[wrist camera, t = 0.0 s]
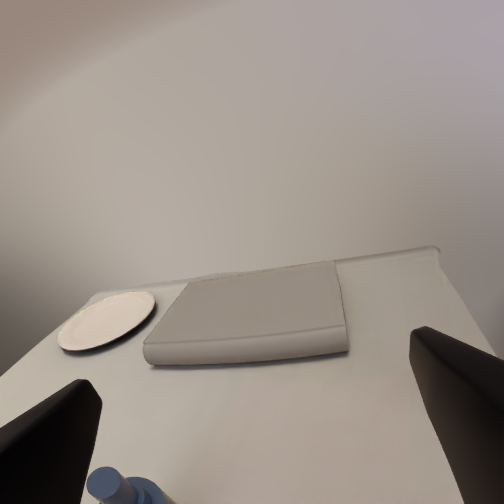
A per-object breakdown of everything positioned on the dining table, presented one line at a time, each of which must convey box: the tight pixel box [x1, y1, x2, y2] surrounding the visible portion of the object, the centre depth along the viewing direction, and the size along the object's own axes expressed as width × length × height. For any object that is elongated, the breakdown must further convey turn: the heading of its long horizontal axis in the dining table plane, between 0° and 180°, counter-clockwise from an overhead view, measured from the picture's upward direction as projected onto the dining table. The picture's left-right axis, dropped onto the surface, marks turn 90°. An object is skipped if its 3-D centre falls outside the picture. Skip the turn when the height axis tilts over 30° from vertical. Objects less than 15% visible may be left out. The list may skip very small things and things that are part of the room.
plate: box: [58, 291, 155, 351], centre depth 51 cm, size 21×21×2 cm
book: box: [143, 260, 348, 365], centre depth 40 cm, size 18×4×24 cm
